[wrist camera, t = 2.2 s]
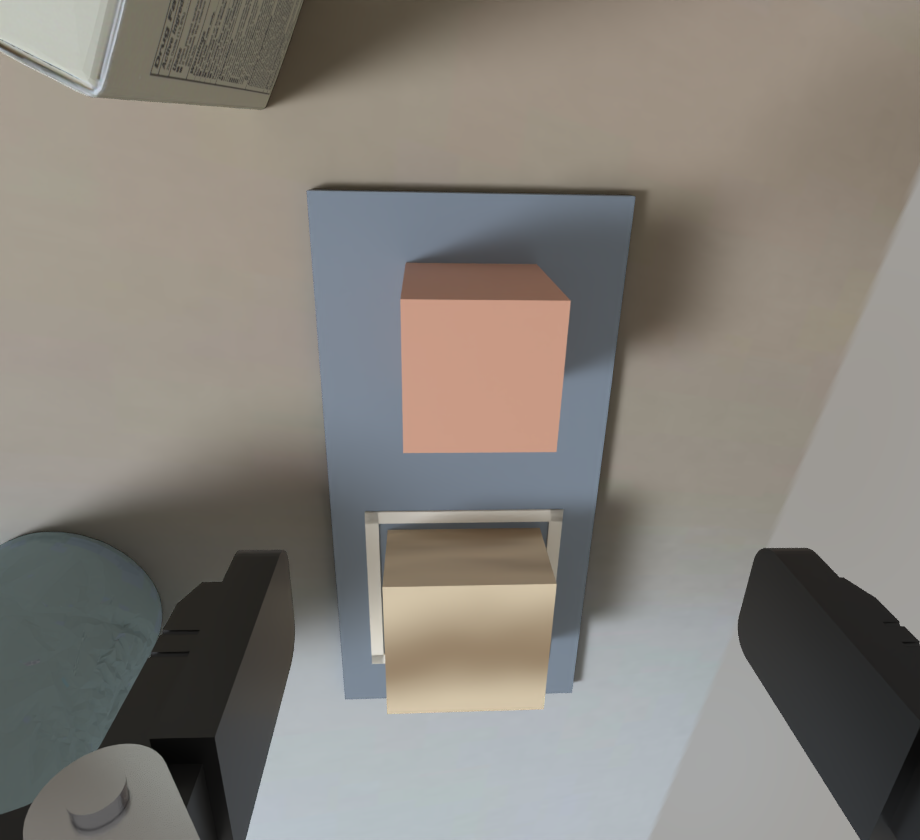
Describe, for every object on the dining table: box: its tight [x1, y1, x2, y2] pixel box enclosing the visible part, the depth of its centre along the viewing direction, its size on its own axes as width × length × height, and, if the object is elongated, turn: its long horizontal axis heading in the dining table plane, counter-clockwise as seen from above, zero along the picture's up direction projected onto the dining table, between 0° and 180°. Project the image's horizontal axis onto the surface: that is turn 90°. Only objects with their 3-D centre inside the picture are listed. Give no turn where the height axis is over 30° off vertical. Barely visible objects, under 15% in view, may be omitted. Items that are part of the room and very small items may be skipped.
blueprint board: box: [307, 190, 635, 699], centre depth 28 cm, size 25×12×1 cm, turn 179°
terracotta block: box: [400, 263, 571, 453], centre depth 22 cm, size 5×5×6 cm
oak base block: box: [382, 528, 557, 714], centre depth 28 cm, size 7×7×4 cm
